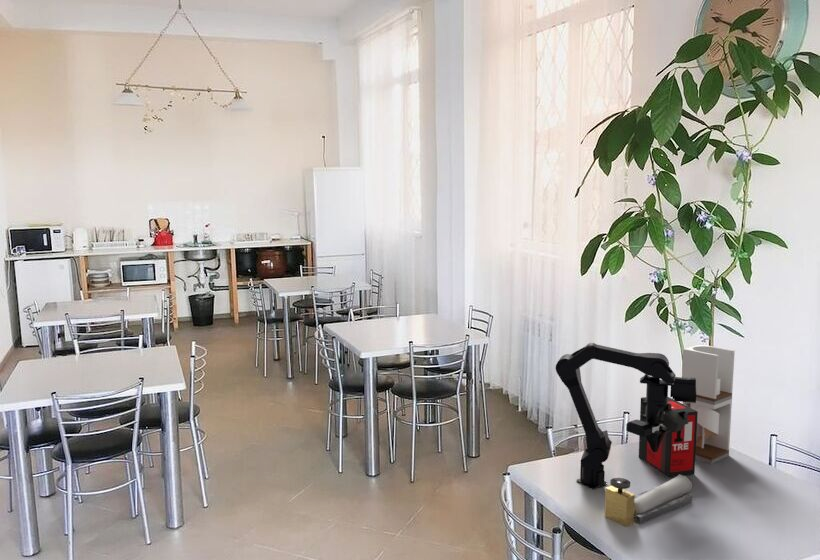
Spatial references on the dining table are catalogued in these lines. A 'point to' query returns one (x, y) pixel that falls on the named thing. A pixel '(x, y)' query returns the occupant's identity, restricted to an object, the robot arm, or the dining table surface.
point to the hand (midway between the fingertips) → (654, 451)
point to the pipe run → (623, 506)
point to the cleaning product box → (672, 445)
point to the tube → (662, 494)
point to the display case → (711, 398)
